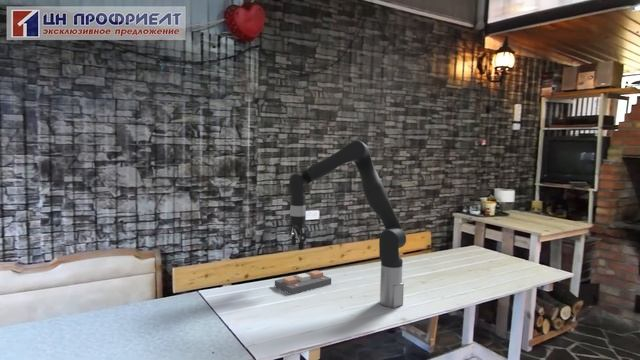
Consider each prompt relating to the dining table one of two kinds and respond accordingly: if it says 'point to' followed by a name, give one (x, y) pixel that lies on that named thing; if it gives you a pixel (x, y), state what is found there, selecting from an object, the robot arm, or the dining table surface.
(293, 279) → the key left
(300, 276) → the key middle
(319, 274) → the key right
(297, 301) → the dining table surface
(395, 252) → the robot arm
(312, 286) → the keypad
